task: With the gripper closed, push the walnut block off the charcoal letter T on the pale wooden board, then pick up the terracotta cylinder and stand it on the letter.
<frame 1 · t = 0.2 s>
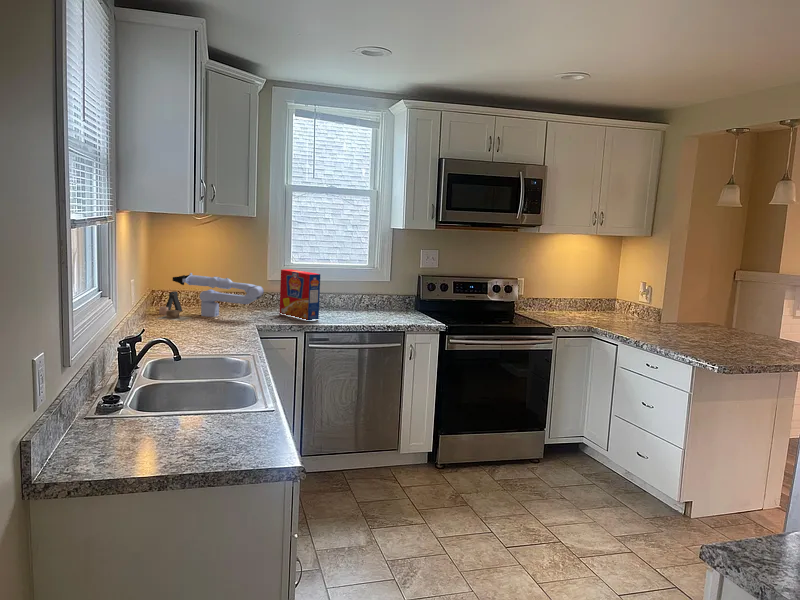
hand: (175, 278, 347), 21 cm above the worktop, tool horizontal, fingers open, 7 cm apart
pasta box: (298, 318, 364), on the worktop
phone stand: (173, 312, 359), on the worktop
letter board: (174, 319, 334), on the worktop
walnut block: (172, 317, 334), point 1 cm above the worktop, touching letter board
terracotta cylinder: (163, 315, 344), on the worktop
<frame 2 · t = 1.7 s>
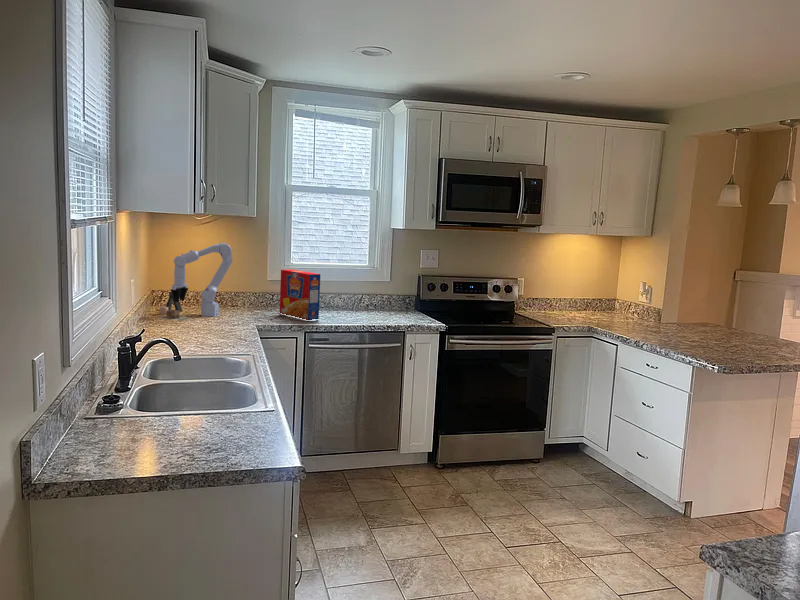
hand: (179, 301, 340), 9 cm above the worktop, tool pointing down, fingers open, 6 cm apart
nothing on the worktop moved.
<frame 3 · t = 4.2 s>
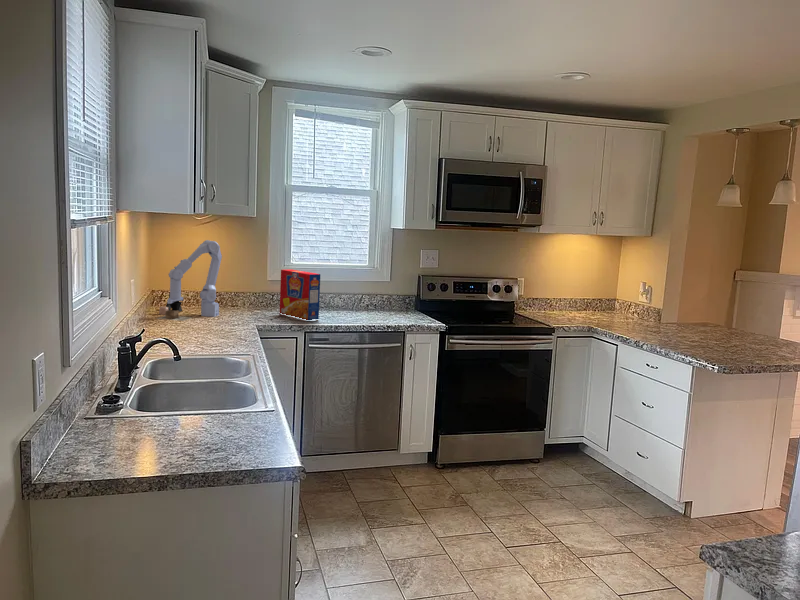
hand: (175, 314, 337), 2 cm above the worktop, tool pointing down, fingers closed
walnut block: (172, 317, 333), point 1 cm above the worktop, touching gripper
everything else where it was.
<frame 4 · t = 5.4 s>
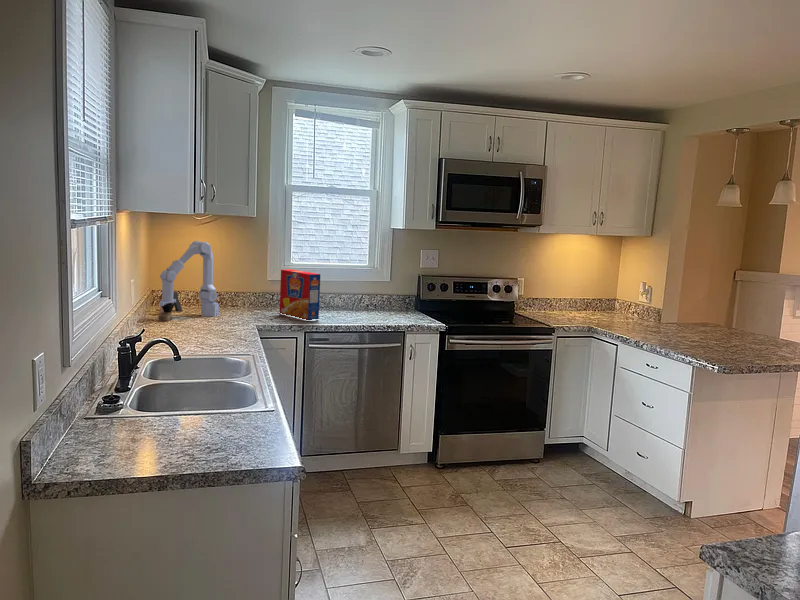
hand: (167, 317, 328), 2 cm above the worktop, tool pointing down, fingers closed
walnut block: (165, 320, 326), point 1 cm above the worktop, tilted 17°, touching gripper
everything else where it was.
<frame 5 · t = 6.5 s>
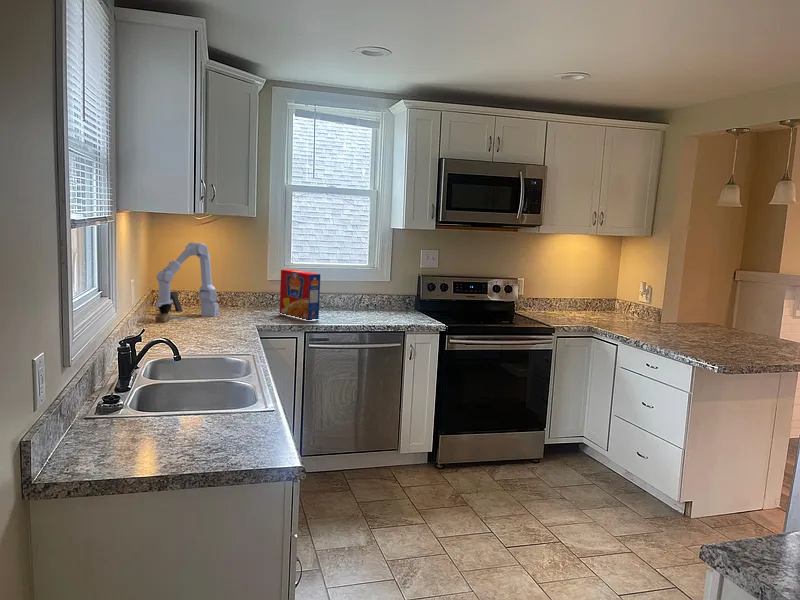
hand: (164, 318, 325), 2 cm above the worktop, tool pointing down, fingers closed
walnut block: (162, 322, 322), point 1 cm above the worktop, tilted 17°, touching gripper
everything else where it was.
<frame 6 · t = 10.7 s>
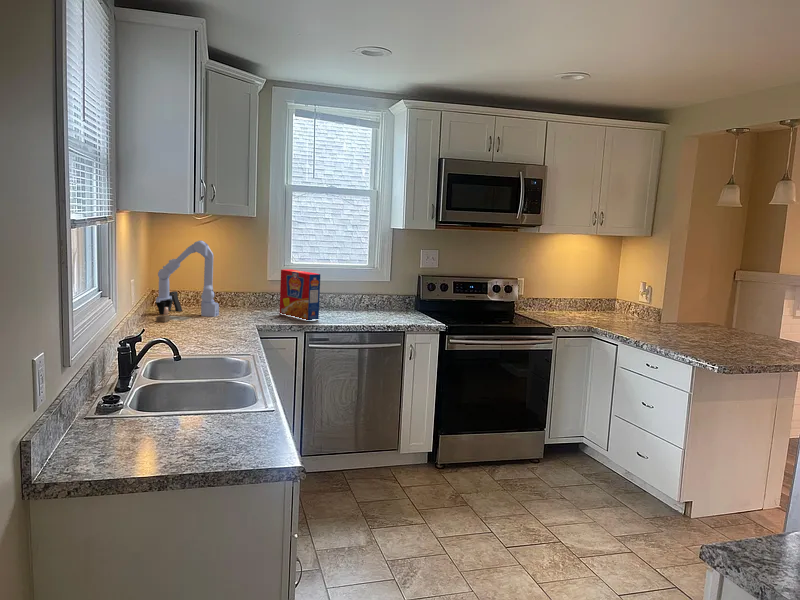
hand: (163, 313, 344), 1 cm above the worktop, tool pointing down, fingers closed on terracotta cylinder, 5 cm apart
walnut block: (162, 323, 322), on the worktop
terracotta cylinder: (163, 315, 344), on the worktop, touching gripper
everything else where it was.
when the fingers open (4 cm above the worktop, at t = 14.6 s): terracotta cylinder drops 1 cm, resting on letter board.
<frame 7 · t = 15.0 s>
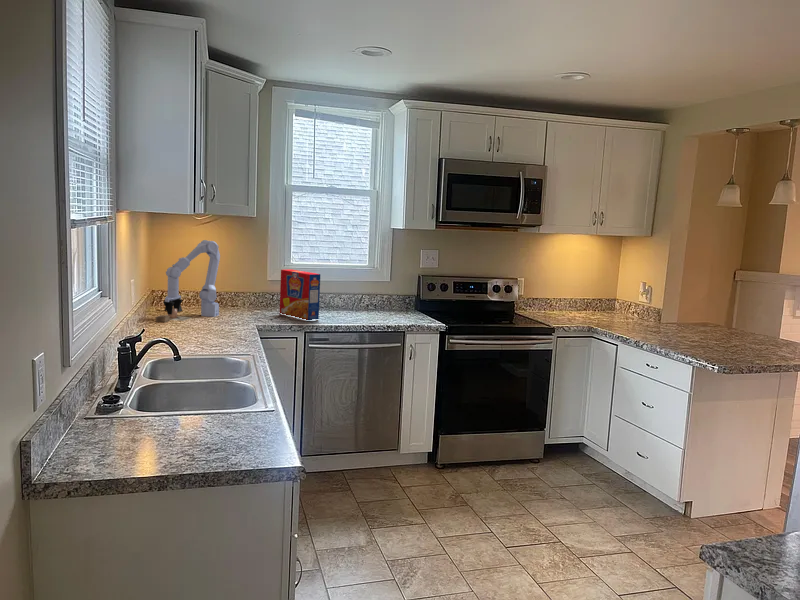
hand: (172, 313, 334), 4 cm above the worktop, tool pointing down, fingers open, 7 cm apart
terracotta cylinder: (172, 317, 334), point 1 cm above the worktop, touching letter board
everything else where it was.
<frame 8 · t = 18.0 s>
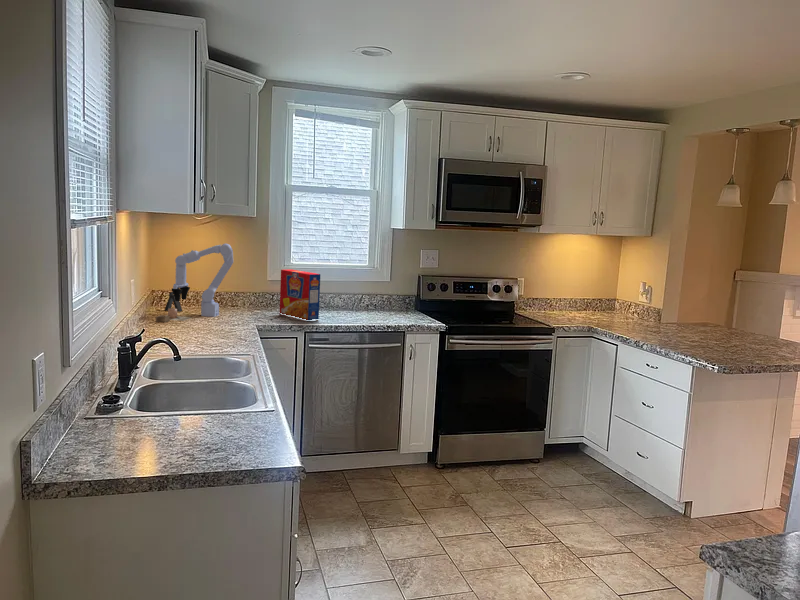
hand: (180, 300, 344), 9 cm above the worktop, tool pointing down, fingers open, 7 cm apart
nothing on the worktop moved.
at the end: terracotta cylinder 0.2 cm from the target spot on the letter board, point 1.0 cm above the letter board's base; terracotta cylinder tilted 0°; walnut block inside the target area (2.1 cm from its centre), on the worktop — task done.
